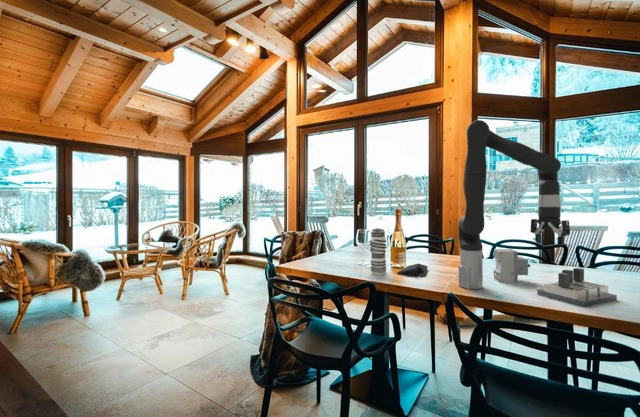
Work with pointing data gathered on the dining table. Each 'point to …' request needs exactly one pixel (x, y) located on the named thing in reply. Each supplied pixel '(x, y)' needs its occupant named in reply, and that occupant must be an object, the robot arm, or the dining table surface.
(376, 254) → the grey ringed tower
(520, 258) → the circuit breaker
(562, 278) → the block
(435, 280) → the dining table surface
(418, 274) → the dark slate chunk
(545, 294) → the breaker panel
